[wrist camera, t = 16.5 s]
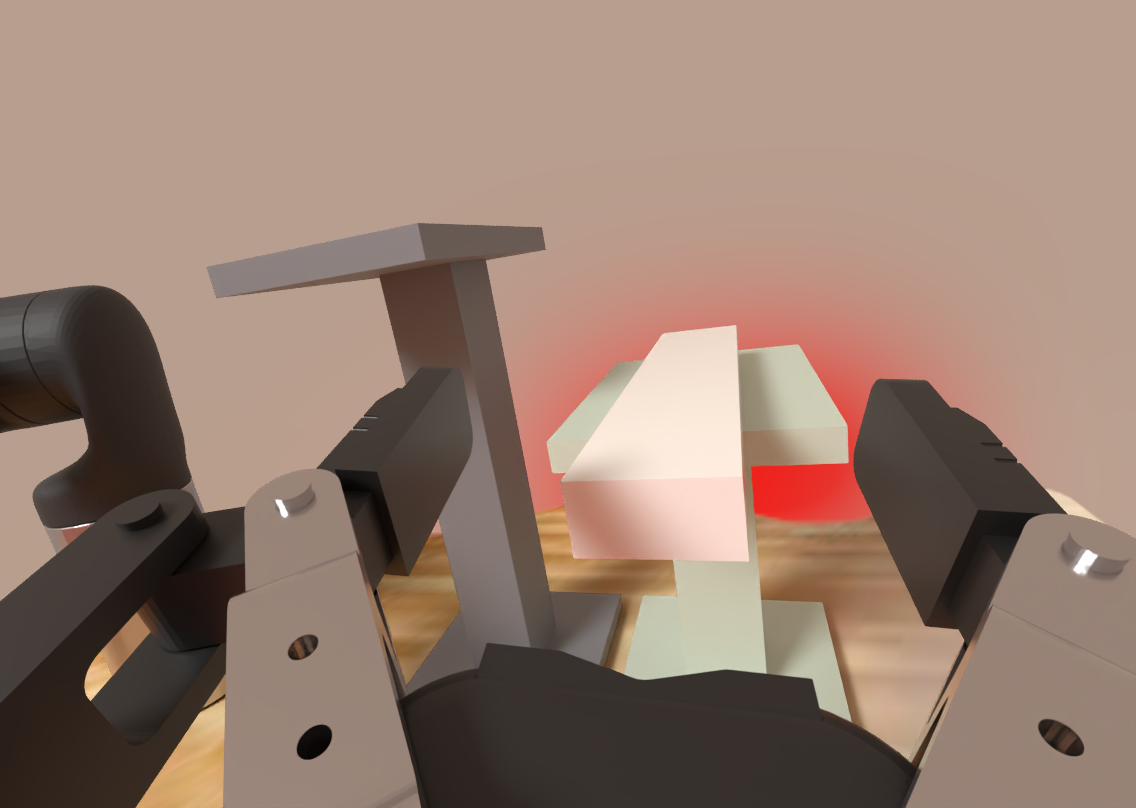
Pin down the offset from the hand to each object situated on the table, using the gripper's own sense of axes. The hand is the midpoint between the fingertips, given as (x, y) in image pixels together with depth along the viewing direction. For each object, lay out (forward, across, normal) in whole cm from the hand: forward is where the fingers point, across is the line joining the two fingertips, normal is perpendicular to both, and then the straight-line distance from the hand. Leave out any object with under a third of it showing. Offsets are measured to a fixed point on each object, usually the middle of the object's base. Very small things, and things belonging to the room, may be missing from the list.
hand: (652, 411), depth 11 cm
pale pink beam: (+11, -2, +7) cm, 13 cm away
